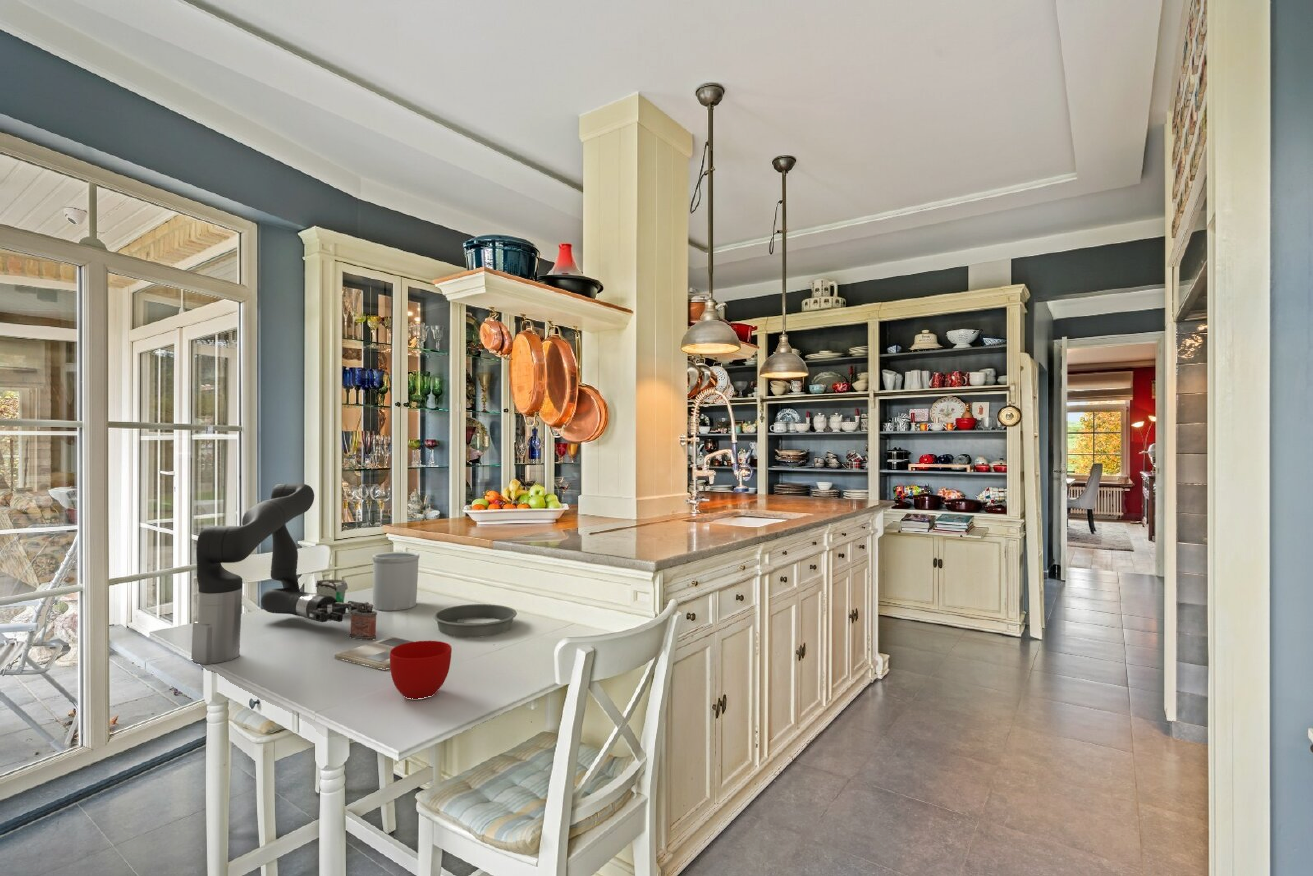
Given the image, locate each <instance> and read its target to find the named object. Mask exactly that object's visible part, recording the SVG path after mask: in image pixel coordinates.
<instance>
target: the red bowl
mask: <svg viewBox="0 0 1313 876" xmlns="http://www.w3.org/2000/svg"><path fill="white" fill-rule="evenodd" d="M452 651H453V649H452V646H451V645H450V643H447V642H444V641H438V640H418V641H417V640H416V641H413V642H410V643H405V644H401V645H398V646H396V647H394V648H393V649H392V650H391V651H390V669H389V670H390V676H391V679H392V682H393V684H394V687H395V688H396V690H397V691H398V692H399V693H400V694H401V695H402V696H403V697H404V696H405V697H407V698H411V699H412V698H413V699H418V698H424V697H428V696H432V695H433V694H435V695H436V693H437V692H438V691H439V690H440V688H441V687H442V686H443V685H444V683H445V681H446V679H447V677H448V674H449V672H450V666H451V662H452ZM432 697H433V696H432Z"/></svg>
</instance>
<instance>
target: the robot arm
mask: <svg viewBox="0 0 1313 876" xmlns="http://www.w3.org/2000/svg"><path fill="white" fill-rule="evenodd" d="M314 500H315V492H314V490H313V488H312V487H311V486H310V485H308V484H307V483H278V484H276V485H275V486H274V487H272V490H271V495H270V499H267V500H266V499H265V500H263V501H261V502H258V503H257V504H255V505H253V506H252V507H250V508H249V509H248V510H246V512H244V514H243V516H242V520H241V524H242V525H210V526H206V527H204V528H202V530H201V531H200V532H199V534H198V536H197V540H196V548H195V549H196V551H195V552H196V557H195V558H196V582H197V586H198V589H197V592H198V593H197V612H196V621H194V622H193V623H192V634H191V635H192V636H191V639H192V640H191V656H190V657H191V658H190V659H193V660H191V662H195V663H199V664H203V665H210V664H217V663H223V662H228V661H231V660H234V659H237V658H238V657H239V656H240V650H241V649H240V648H241V629H242V628H241V625H242V624H241V623H242V606H243V605H242V601H243V578H242V577H241V576H240V575H239V574H237V573H236V574H235V573H233V572H231V571H228V570H227V569H225V568H224V567H223V566H222V564H233V563H239V562H242V561H244V560H245V559H247V558H248V557H249V556H250V555H251V554H252V553H253V552H254V551H255V550H256V549H257V547H258V546H259V545H260V544H261V543H262V542H263V541H265V540H266V539H267V538H268V537H270V536H272V555H271V564H270V579H272V580H273V581H279V582H281V584H282V588H271V589H267V591H265V592H264V593H263V594H262V596H261V598H260V605H261V608H262V609H263V610H264V611H265V612H267V613H270V614H279V615H280V614H281V615H282V614H283V615H285V614H286V615H294V616H297V617H301V618H304V619H306V620H311V621H314V622H318V623H326V622H330V621H331V622H332V621H333V622H337V623H340V622H341V623H342V622H343V620H344V619H343V618H344V617H343V616H351V614H350V613H351V610H356V609H357V608H358V607H353V603H354V602H355V601H353V600H347V602H344V603H342V602H337V600H336V599H335V598H334V597H332V596H327V595H322V594H317V592H312V593H311V592H306V591H301V590H300V585H299V580H298V575H297V574H298V573H297V571H298V560H299V551H298V548H297V544H296V542H295V541H294V539H293V537H292V535H291V534H290V532H289V530H288V528H287V523H289V522H290V521H291V520H293V519H294V518H296V517H298V516H300V515H302V514H305V513H306V512H308V511H309V509H311V508H312V506H313V503H314Z"/></svg>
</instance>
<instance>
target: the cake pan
mask: <svg viewBox="0 0 1313 876" xmlns="http://www.w3.org/2000/svg"><path fill="white" fill-rule="evenodd" d="M517 615H518V613H517V611H516V610H515V609H514V608H512V607H510V606H509V607H508V606H504V605H500V604H489V603H487V604H485V603H476V604H475V603H473V604H461V605H455V606H449V607H445V608H443V609H440V610H437V611H436V612H435V613H434V614H433V619H434V620H435V621H436V623H437V628H438V631H439V633H441V634H443V635H445V636H450V637H454V636H455V637H457V638H481V636H484V637H490V636H496V635H499V634H502V633H504V632H507V631H508V630H509V629H510V628H511V625H512V624H513V620H514V618H515V617H516V616H517ZM467 619H468V620H469V619H470V620H471V619H491V620H492V619H493V620H497V621H491V622H490V621H489V622H482V623H481V622H480V623H479V622H465V621H460V620H467ZM495 634H496V635H495Z"/></svg>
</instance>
